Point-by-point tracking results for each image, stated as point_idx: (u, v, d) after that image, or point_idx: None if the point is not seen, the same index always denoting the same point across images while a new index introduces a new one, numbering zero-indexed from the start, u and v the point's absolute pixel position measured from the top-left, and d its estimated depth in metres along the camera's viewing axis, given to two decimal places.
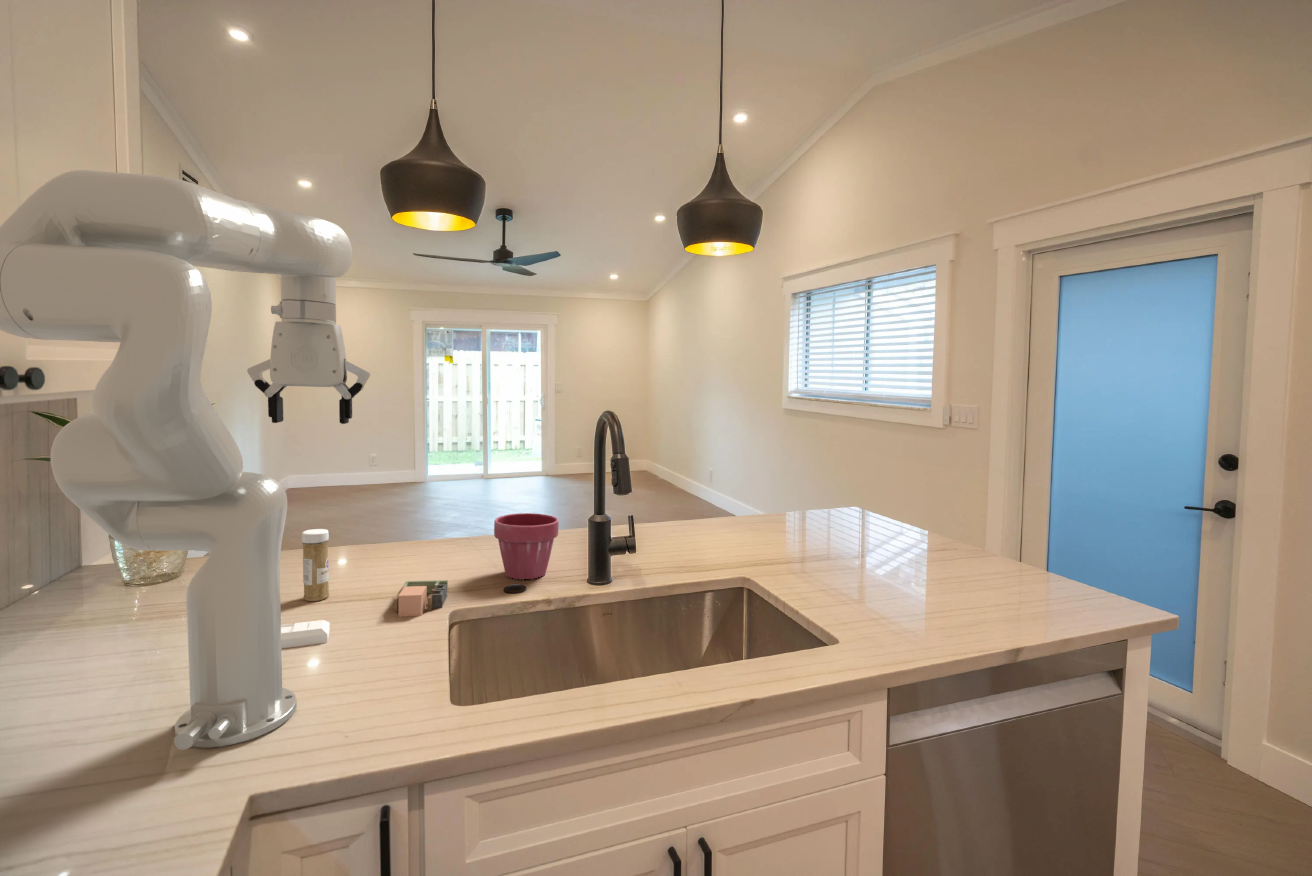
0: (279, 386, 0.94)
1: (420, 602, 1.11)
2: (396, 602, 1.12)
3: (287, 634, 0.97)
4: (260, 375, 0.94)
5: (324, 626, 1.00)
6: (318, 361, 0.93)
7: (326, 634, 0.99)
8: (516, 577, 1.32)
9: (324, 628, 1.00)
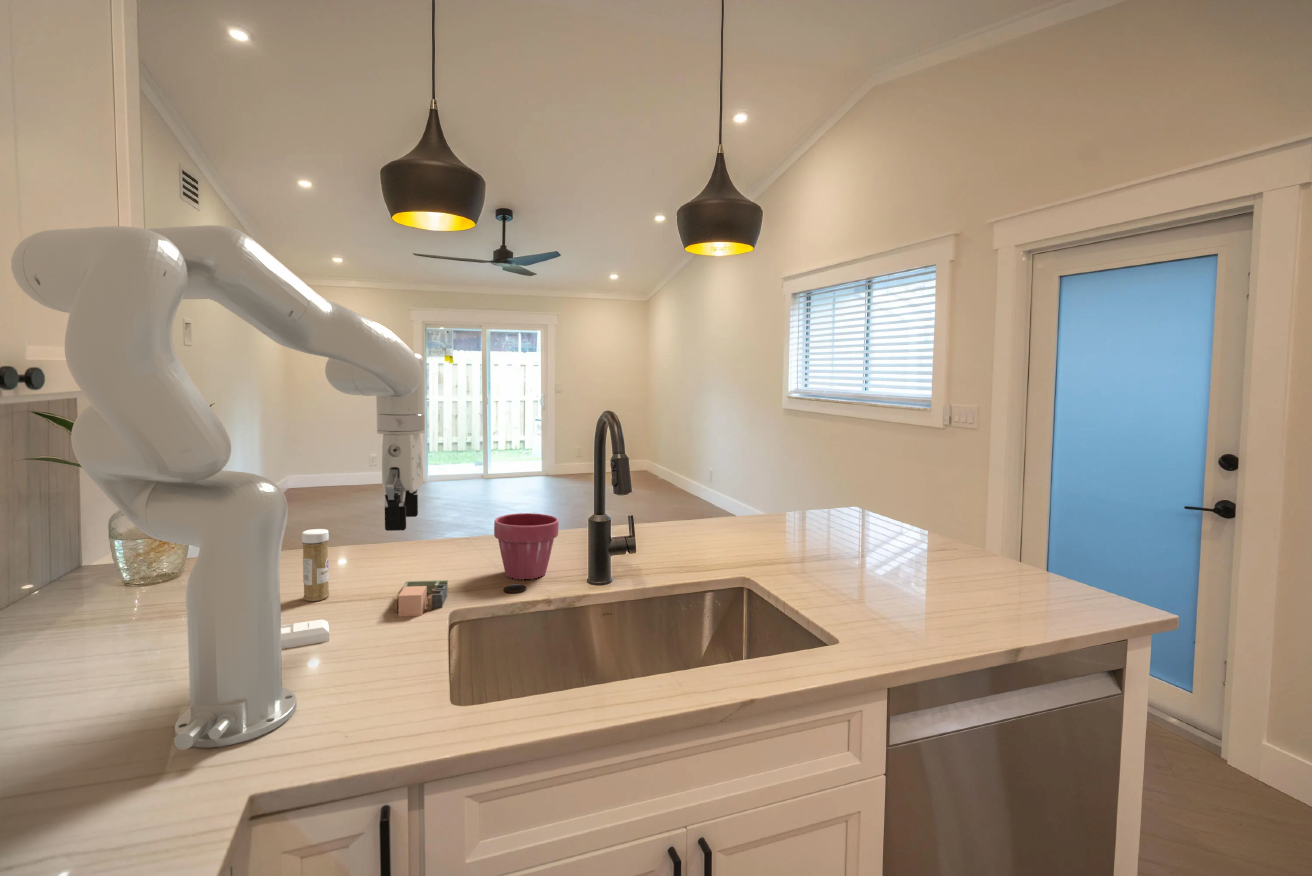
0: (404, 494, 1.00)
1: (420, 602, 1.11)
2: (396, 602, 1.12)
3: (288, 634, 0.97)
4: (394, 489, 0.96)
5: (325, 625, 1.01)
6: (420, 464, 1.05)
7: (328, 633, 0.99)
8: (516, 577, 1.32)
9: (325, 627, 1.00)
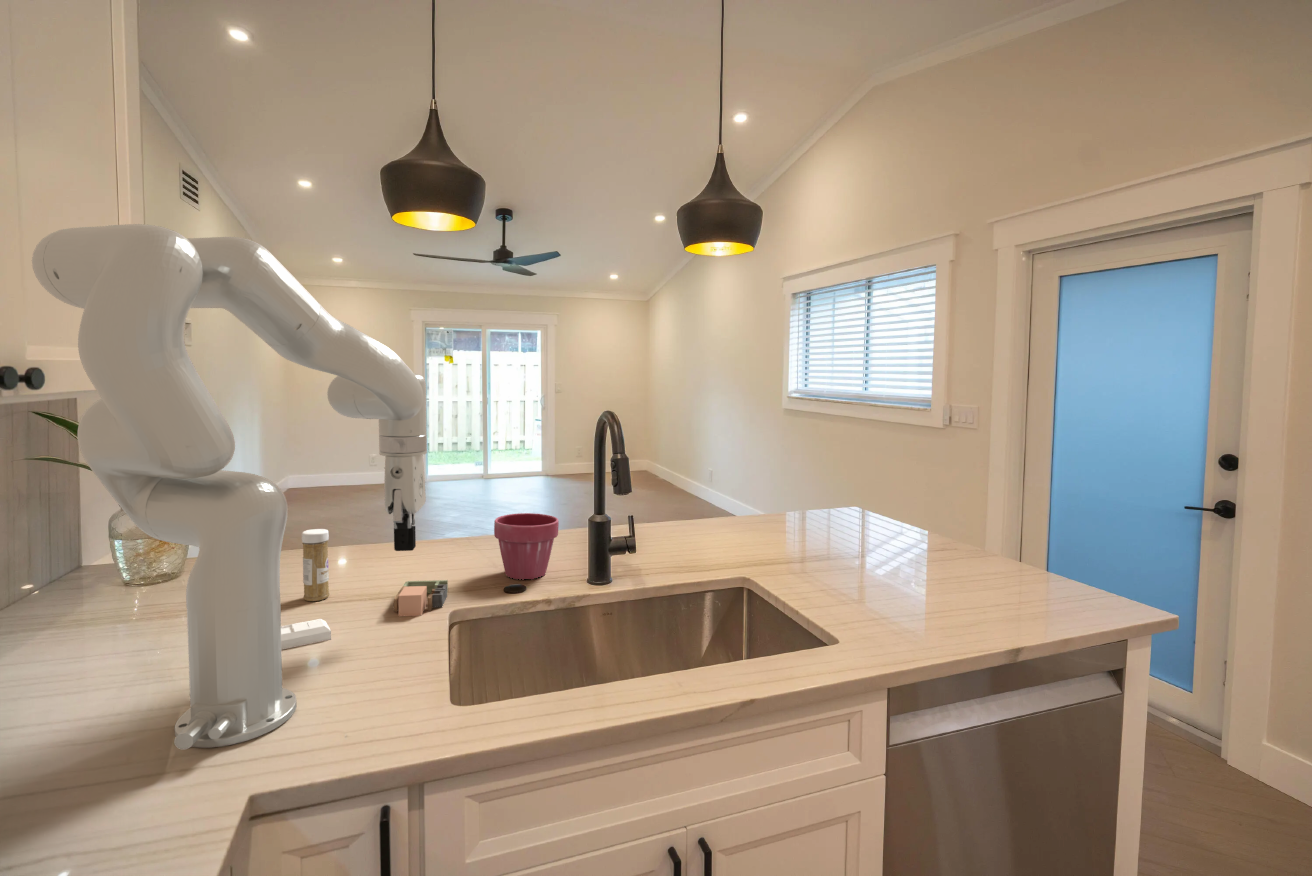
0: (411, 514, 1.03)
1: (420, 602, 1.11)
2: (396, 602, 1.12)
3: (290, 634, 0.97)
4: (401, 515, 1.01)
5: (324, 624, 1.01)
6: (423, 484, 1.06)
7: (329, 631, 1.00)
8: (516, 577, 1.32)
9: (325, 625, 1.00)
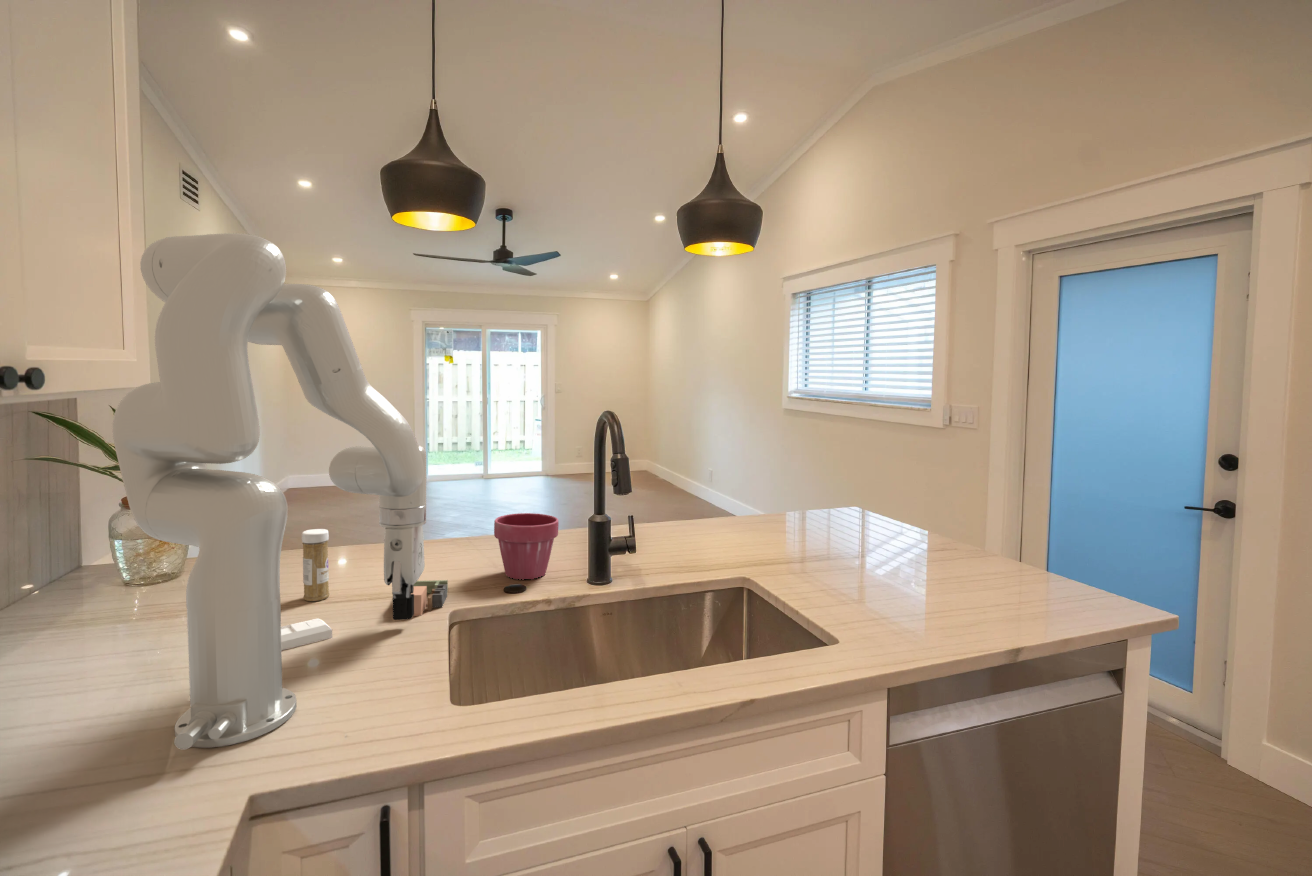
0: (410, 583, 1.04)
1: (420, 602, 1.11)
2: None
3: (293, 634, 0.97)
4: (400, 586, 1.01)
5: (324, 623, 1.02)
6: (422, 552, 1.07)
7: (331, 629, 1.00)
8: (516, 577, 1.32)
9: (326, 624, 1.01)
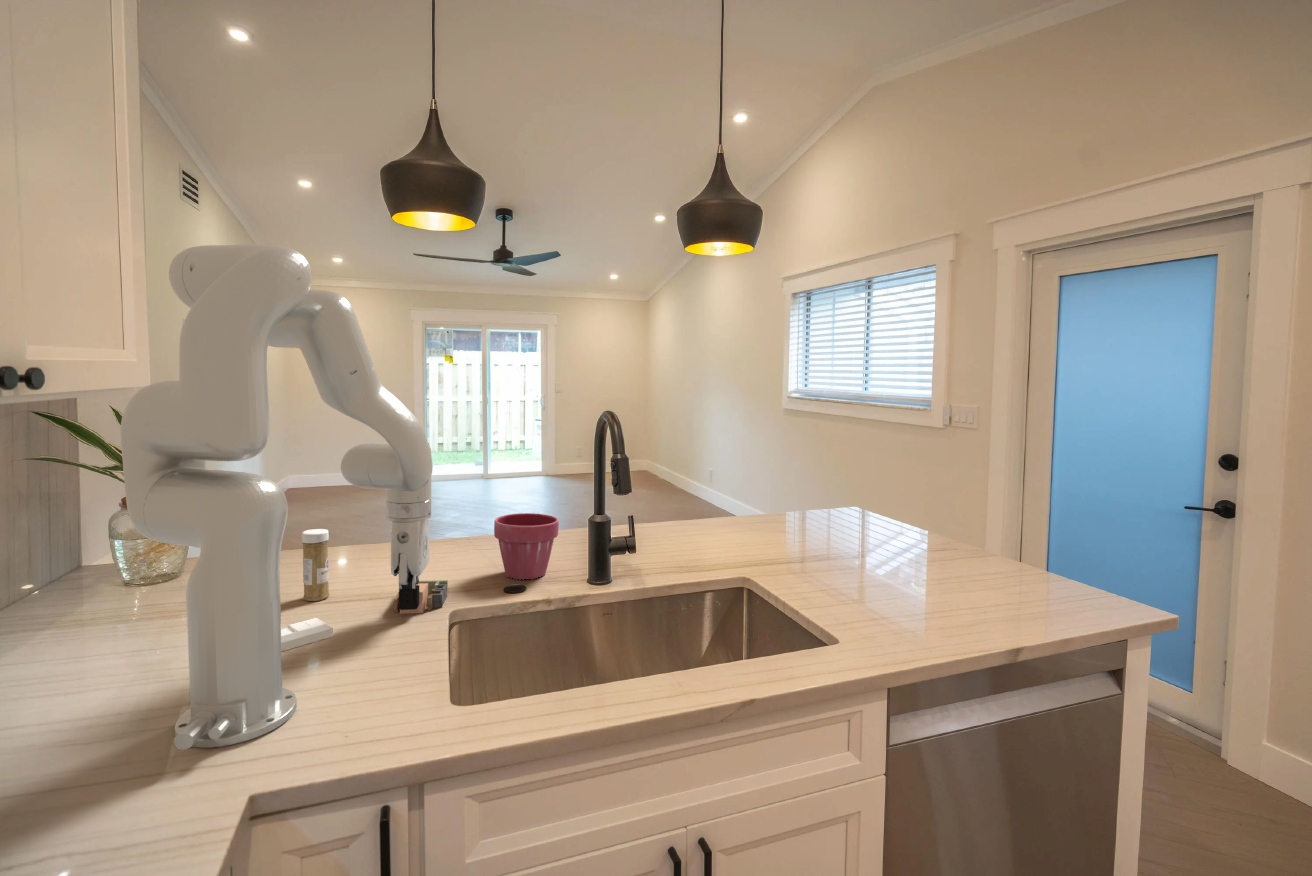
0: (415, 575, 1.09)
1: (421, 599, 1.12)
2: (396, 602, 1.12)
3: (295, 634, 0.97)
4: (406, 577, 1.06)
5: None
6: (427, 545, 1.11)
7: (331, 628, 1.01)
8: (516, 577, 1.32)
9: None
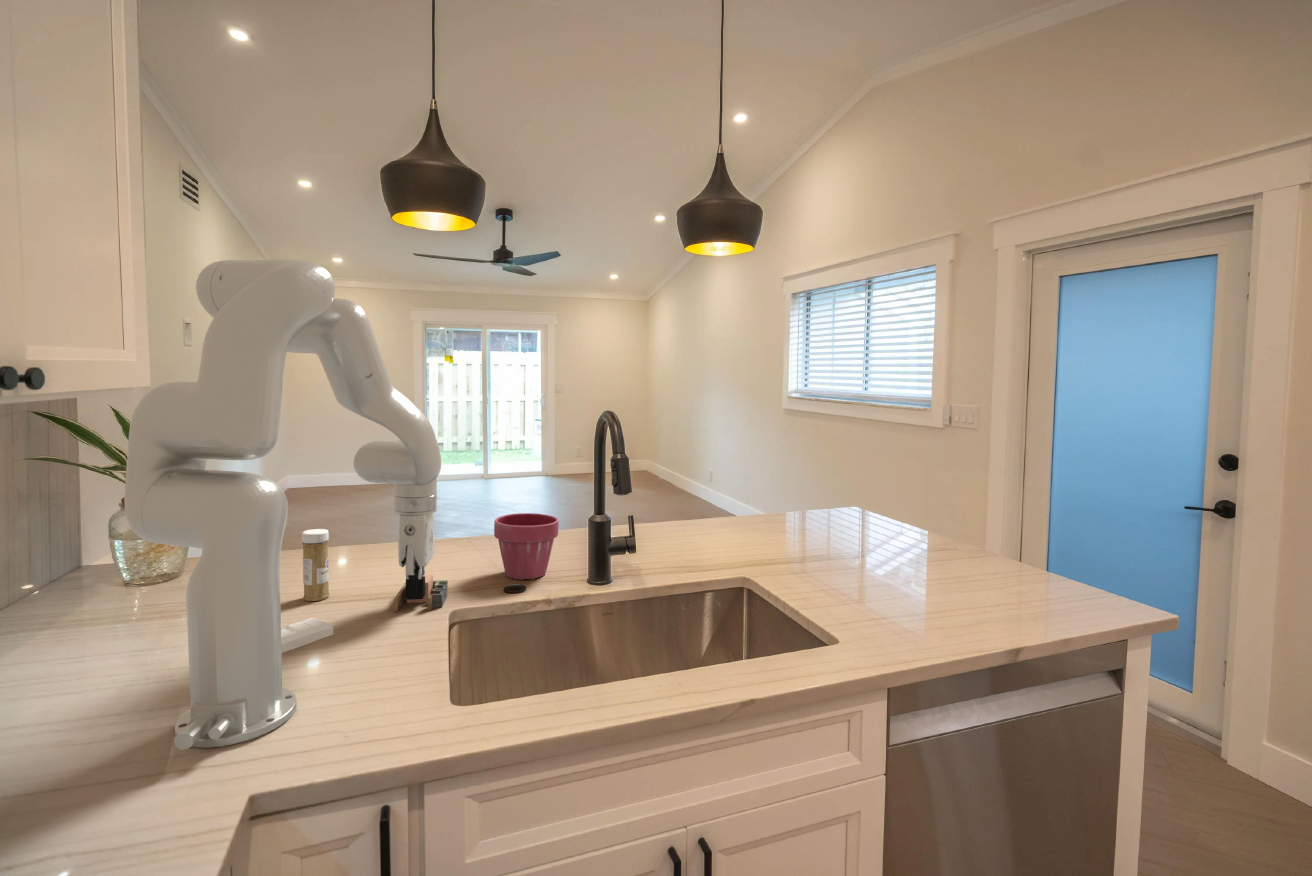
0: (421, 566, 1.14)
1: (427, 589, 1.17)
2: (396, 602, 1.12)
3: (298, 634, 0.97)
4: (413, 568, 1.11)
5: None
6: (432, 538, 1.17)
7: (332, 627, 1.02)
8: (516, 577, 1.32)
9: None
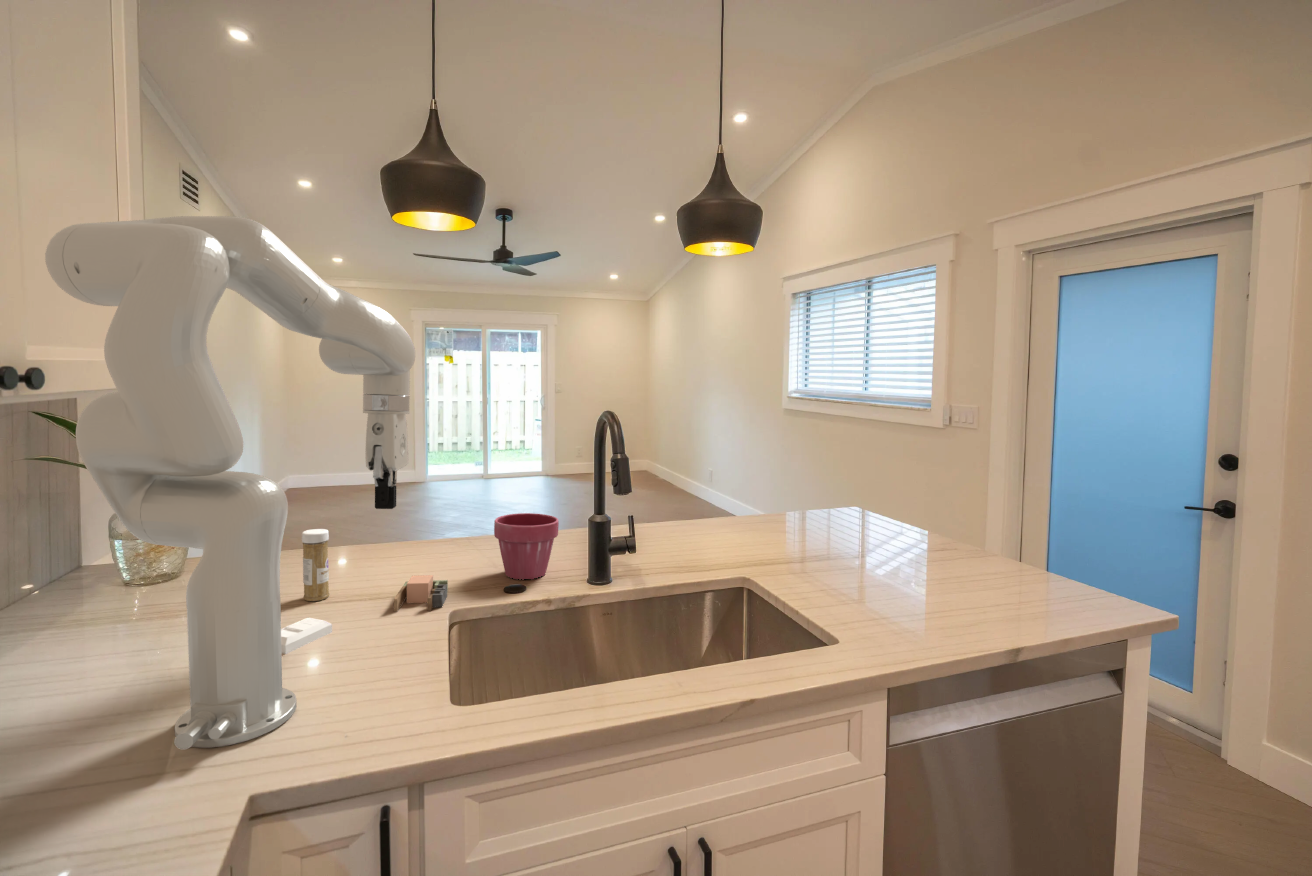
0: (392, 472, 1.06)
1: (427, 590, 1.17)
2: (396, 602, 1.12)
3: (301, 633, 0.97)
4: (382, 472, 1.03)
5: None
6: (405, 445, 1.09)
7: (330, 624, 1.02)
8: (516, 577, 1.32)
9: None
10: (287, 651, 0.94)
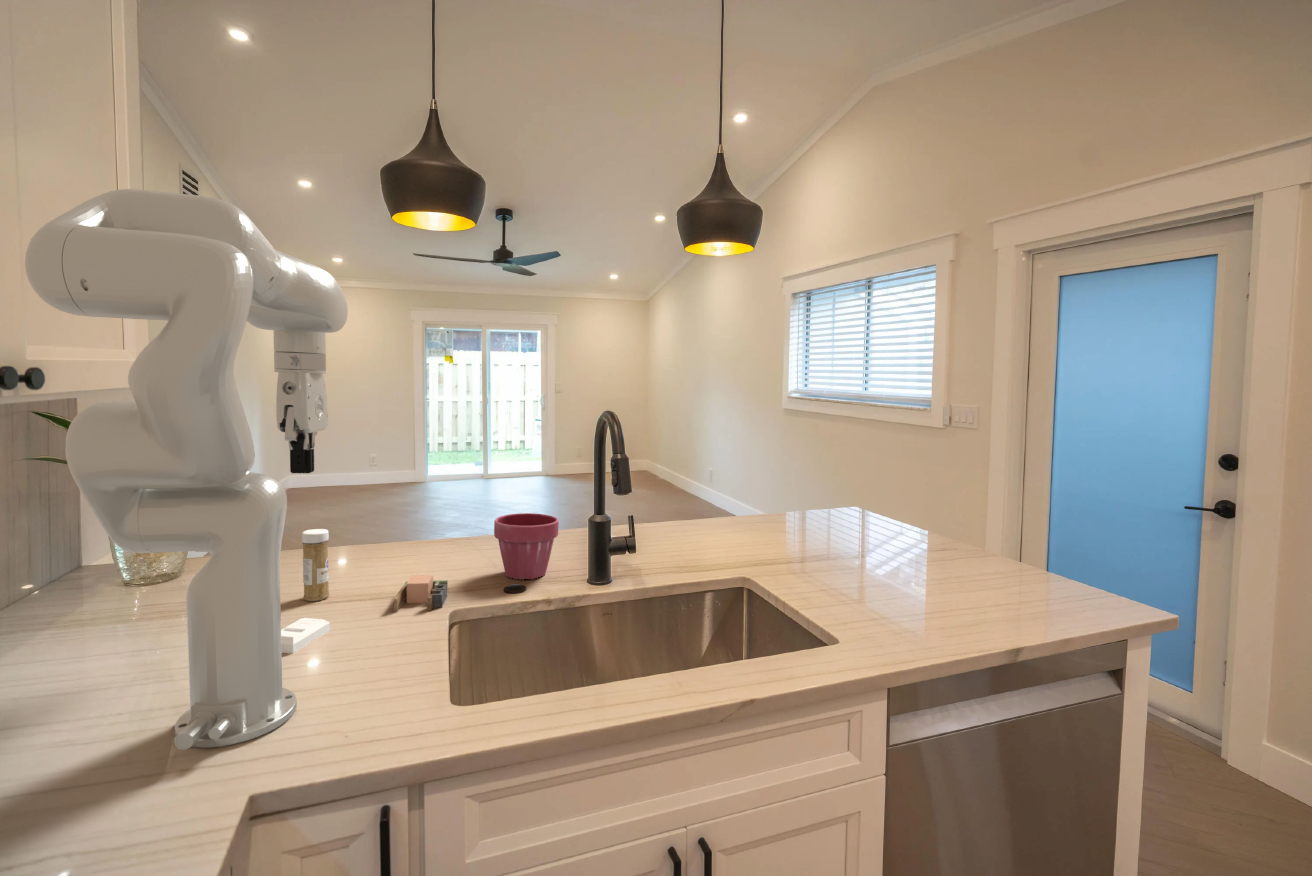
0: (307, 435, 1.01)
1: (427, 590, 1.17)
2: (396, 602, 1.12)
3: (305, 632, 0.98)
4: (295, 434, 0.98)
5: None
6: (323, 407, 1.04)
7: (328, 623, 1.03)
8: (516, 577, 1.32)
9: None
10: (294, 650, 0.95)
